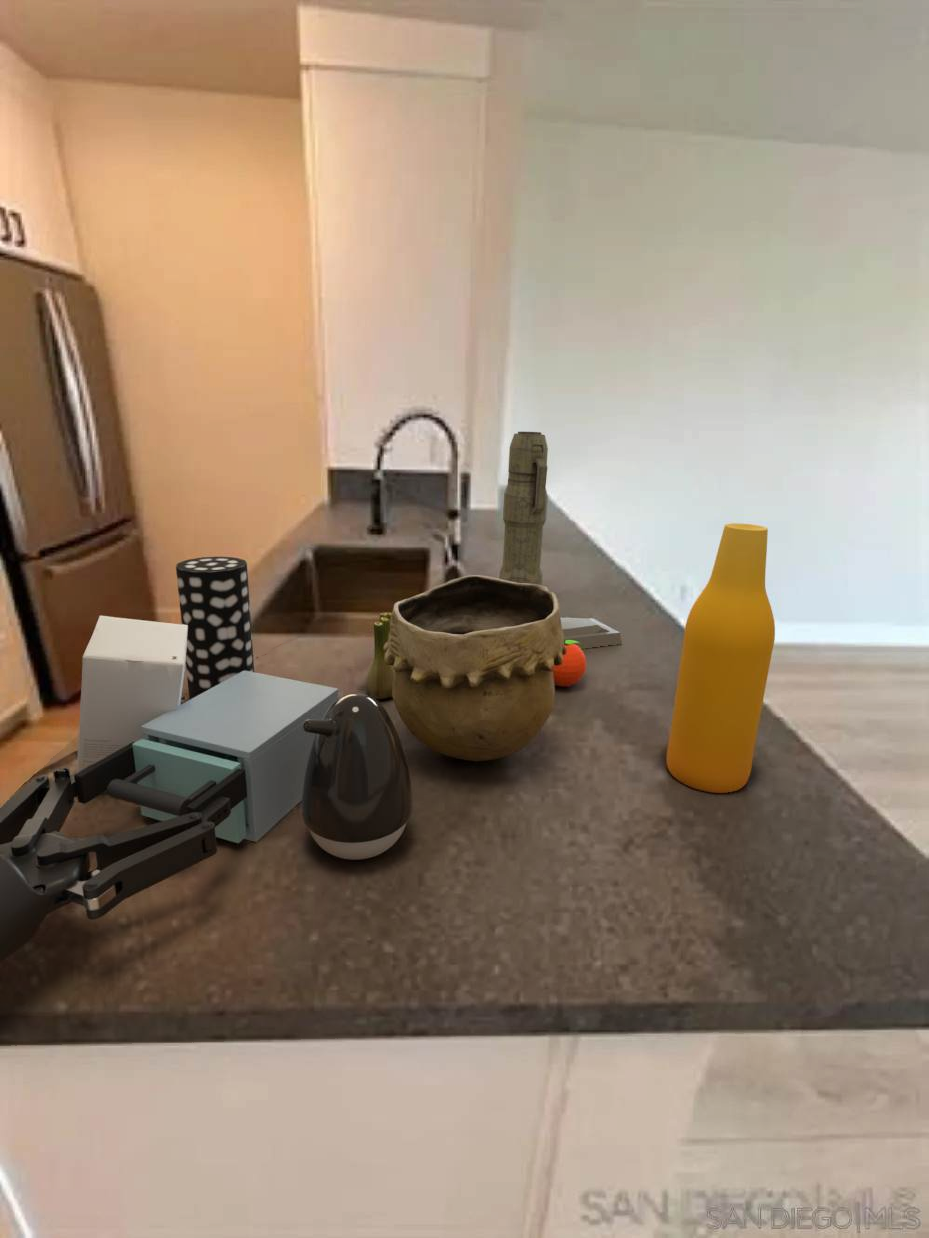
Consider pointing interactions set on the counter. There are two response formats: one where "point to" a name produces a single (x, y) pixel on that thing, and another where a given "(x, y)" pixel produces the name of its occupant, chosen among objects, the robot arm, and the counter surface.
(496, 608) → the clay pot
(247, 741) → the small drawer unit
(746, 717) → the beer bottle
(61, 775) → the robot arm
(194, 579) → the white-spotted black cylinder
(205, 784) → the mint green drawer
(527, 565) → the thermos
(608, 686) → the counter surface
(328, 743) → the pump dispenser
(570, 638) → the soap mold
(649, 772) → the counter surface
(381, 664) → the fennel bulb
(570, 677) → the clementine
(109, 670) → the rectangular carton
